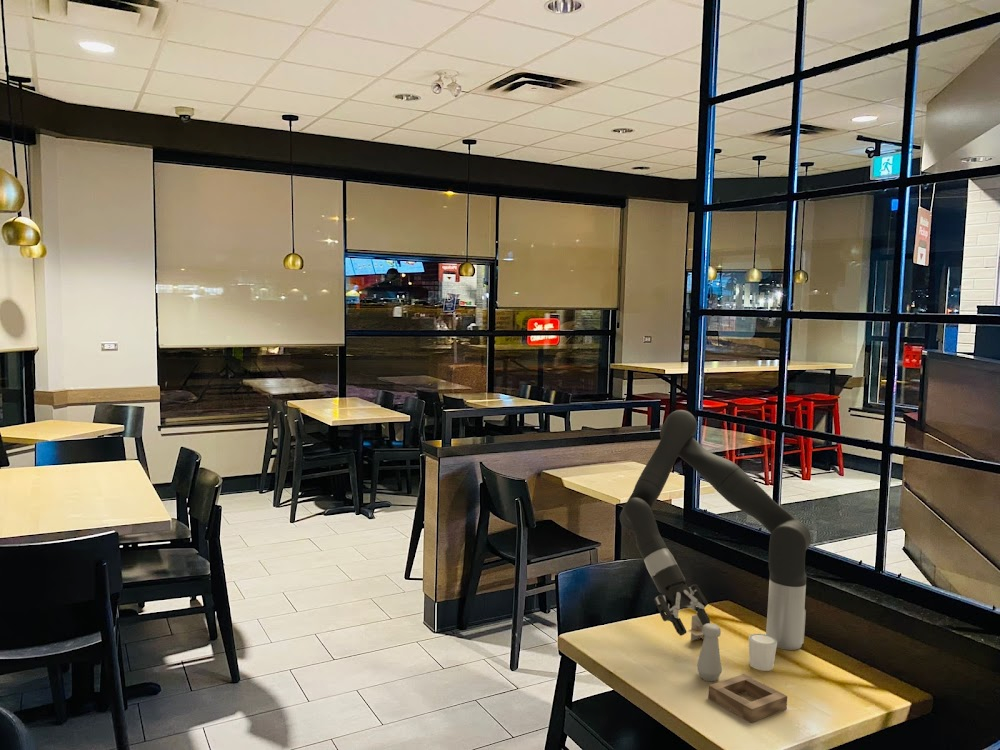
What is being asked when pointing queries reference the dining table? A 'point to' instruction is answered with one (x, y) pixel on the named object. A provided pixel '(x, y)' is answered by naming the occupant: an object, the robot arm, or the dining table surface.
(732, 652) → the dining table surface
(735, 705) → the socket
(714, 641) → the salt shaker
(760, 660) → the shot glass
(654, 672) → the dining table surface
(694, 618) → the architectural model
